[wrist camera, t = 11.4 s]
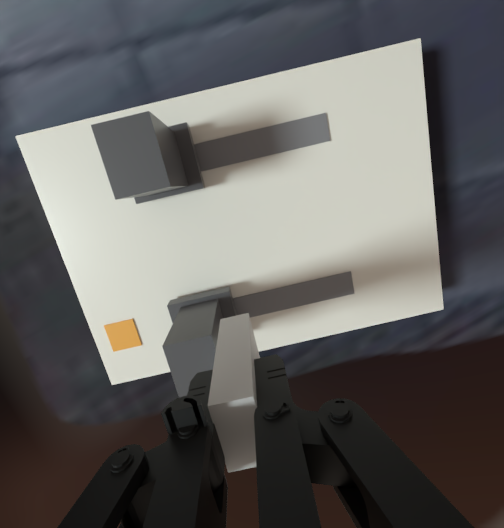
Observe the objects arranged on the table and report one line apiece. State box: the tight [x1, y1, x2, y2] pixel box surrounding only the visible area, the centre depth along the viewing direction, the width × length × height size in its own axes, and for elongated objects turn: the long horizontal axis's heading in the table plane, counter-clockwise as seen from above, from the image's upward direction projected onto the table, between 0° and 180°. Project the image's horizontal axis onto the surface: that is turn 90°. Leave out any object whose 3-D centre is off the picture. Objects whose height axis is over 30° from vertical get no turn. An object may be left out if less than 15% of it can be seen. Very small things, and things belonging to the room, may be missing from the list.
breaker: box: [91, 111, 205, 204], centre depth 16 cm, size 4×4×6 cm
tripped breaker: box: [162, 286, 237, 398], centre depth 18 cm, size 4×4×6 cm
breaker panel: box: [16, 38, 444, 385], centre depth 22 cm, size 24×17×3 cm
